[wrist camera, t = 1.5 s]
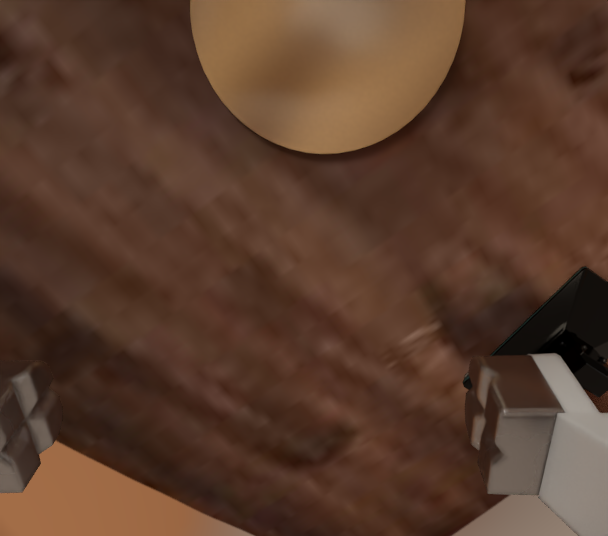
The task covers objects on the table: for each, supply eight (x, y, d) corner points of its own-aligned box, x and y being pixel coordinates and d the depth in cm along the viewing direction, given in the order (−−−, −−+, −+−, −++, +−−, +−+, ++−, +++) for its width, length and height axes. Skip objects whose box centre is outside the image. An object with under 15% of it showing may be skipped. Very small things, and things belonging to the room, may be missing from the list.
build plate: (526, 421, 42) (549, 467, 38) (458, 380, 40) (473, 423, 36) (653, 314, 37) (695, 354, 33) (581, 263, 35) (615, 297, 31)
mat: (159, 90, 31) (156, 91, 30) (248, -215, 24) (247, -220, 24) (383, 189, 33) (384, 192, 33) (518, -65, 27) (522, -66, 26)
